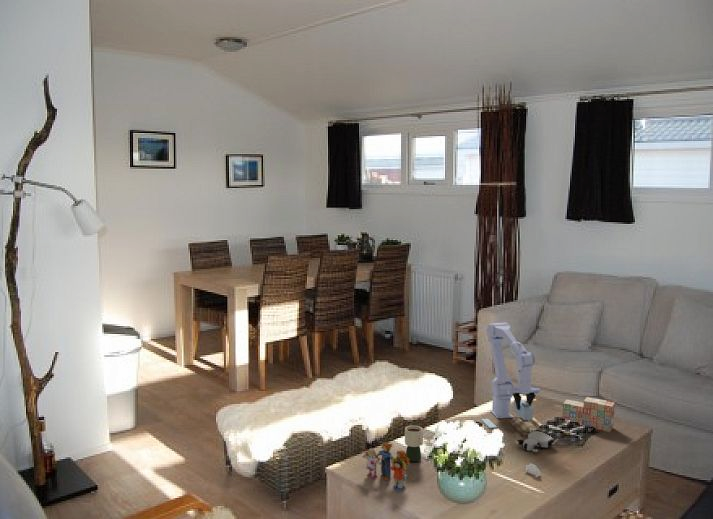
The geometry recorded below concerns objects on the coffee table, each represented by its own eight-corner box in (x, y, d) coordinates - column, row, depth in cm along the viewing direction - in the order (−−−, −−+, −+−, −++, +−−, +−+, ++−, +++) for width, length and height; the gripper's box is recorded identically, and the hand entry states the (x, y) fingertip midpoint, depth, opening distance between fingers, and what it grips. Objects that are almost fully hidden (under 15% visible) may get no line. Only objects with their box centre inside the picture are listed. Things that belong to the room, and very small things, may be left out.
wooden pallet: (509, 422, 292) (510, 416, 292) (534, 420, 294) (534, 414, 294) (524, 436, 277) (524, 429, 276) (549, 434, 279) (550, 428, 278)
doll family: (360, 474, 240) (361, 441, 238) (377, 466, 247) (378, 433, 245) (403, 493, 225) (404, 458, 224) (420, 484, 232) (421, 450, 231)
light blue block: (513, 410, 289) (513, 397, 289) (521, 410, 290) (522, 397, 289) (523, 419, 278) (524, 406, 277) (532, 419, 278) (533, 406, 278)
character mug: (428, 462, 250) (429, 431, 248) (414, 467, 246) (415, 435, 244) (411, 452, 259) (412, 422, 257) (397, 456, 255) (398, 426, 253)
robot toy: (536, 459, 257) (559, 447, 266) (536, 448, 256) (559, 437, 265) (512, 448, 266) (534, 437, 275) (512, 438, 266) (534, 427, 275)
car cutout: (545, 475, 241) (546, 464, 241) (535, 481, 237) (536, 469, 236) (512, 462, 252) (512, 451, 252) (502, 467, 248) (502, 456, 247)
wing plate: (481, 421, 294) (481, 419, 294) (488, 421, 295) (488, 418, 295) (489, 429, 285) (489, 427, 285) (496, 429, 285) (497, 426, 285)
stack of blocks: (561, 422, 294) (563, 396, 292) (565, 418, 299) (566, 392, 297) (610, 432, 282) (612, 406, 281) (613, 428, 287) (615, 402, 286)
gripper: (512, 383, 277) (511, 413, 279) (543, 382, 279) (542, 411, 281) (506, 378, 284) (505, 407, 285) (537, 377, 286) (535, 405, 288)
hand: (523, 409), depth 283 cm, fingers closed on light blue block, 4 cm apart
